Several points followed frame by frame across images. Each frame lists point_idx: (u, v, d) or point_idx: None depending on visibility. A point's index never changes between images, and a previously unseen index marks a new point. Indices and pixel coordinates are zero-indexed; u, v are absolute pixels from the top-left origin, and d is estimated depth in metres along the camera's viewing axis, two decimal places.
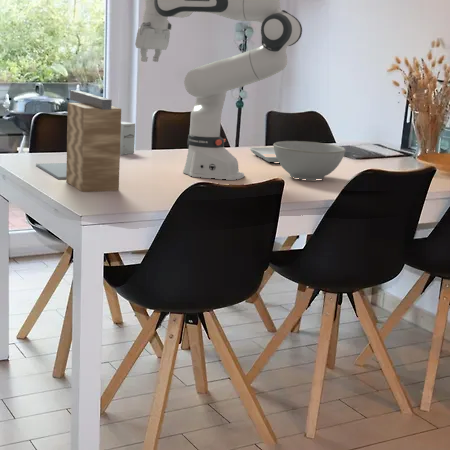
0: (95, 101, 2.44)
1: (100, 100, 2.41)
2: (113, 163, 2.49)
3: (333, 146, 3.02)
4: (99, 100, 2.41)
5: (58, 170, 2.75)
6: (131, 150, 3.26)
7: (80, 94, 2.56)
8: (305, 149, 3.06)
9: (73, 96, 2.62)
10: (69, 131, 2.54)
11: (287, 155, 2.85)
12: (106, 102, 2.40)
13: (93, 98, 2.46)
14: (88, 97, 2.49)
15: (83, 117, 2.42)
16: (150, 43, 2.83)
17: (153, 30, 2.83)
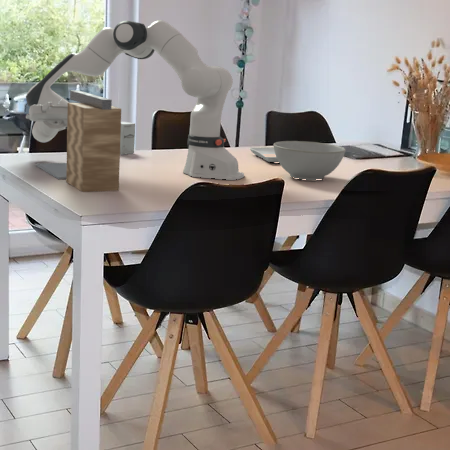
0: (95, 101, 2.44)
1: (100, 100, 2.41)
2: (113, 163, 2.49)
3: (333, 146, 3.02)
4: (99, 100, 2.41)
5: (58, 170, 2.75)
6: (131, 150, 3.26)
7: (80, 94, 2.56)
8: (305, 149, 3.06)
9: (73, 96, 2.62)
10: (69, 131, 2.54)
11: (287, 155, 2.85)
12: (106, 102, 2.40)
13: (93, 98, 2.46)
14: (88, 97, 2.49)
15: (83, 117, 2.42)
16: None
17: None
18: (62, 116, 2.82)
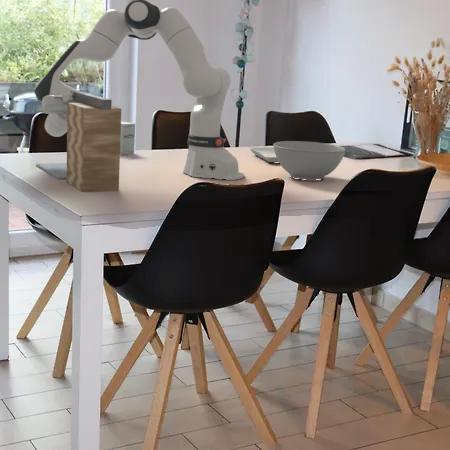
0: (95, 101, 2.44)
1: (100, 100, 2.41)
2: (113, 163, 2.49)
3: (333, 146, 3.02)
4: (99, 100, 2.41)
5: (58, 170, 2.75)
6: (131, 150, 3.26)
7: (80, 94, 2.56)
8: (305, 149, 3.06)
9: None
10: (69, 131, 2.54)
11: (287, 155, 2.85)
12: (106, 102, 2.40)
13: (93, 98, 2.46)
14: (88, 97, 2.49)
15: (83, 117, 2.42)
16: None
17: None
18: None
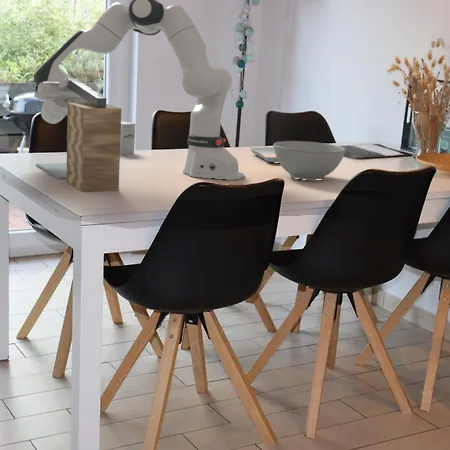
0: (90, 97, 2.48)
1: (95, 98, 2.44)
2: (113, 163, 2.49)
3: (333, 146, 3.02)
4: (94, 97, 2.44)
5: (58, 170, 2.75)
6: (131, 150, 3.26)
7: (76, 85, 2.59)
8: (305, 149, 3.06)
9: (69, 85, 2.64)
10: (69, 131, 2.54)
11: (287, 155, 2.85)
12: (101, 100, 2.43)
13: (88, 94, 2.49)
14: (84, 91, 2.52)
15: (83, 117, 2.42)
16: None
17: None
18: (72, 94, 2.71)
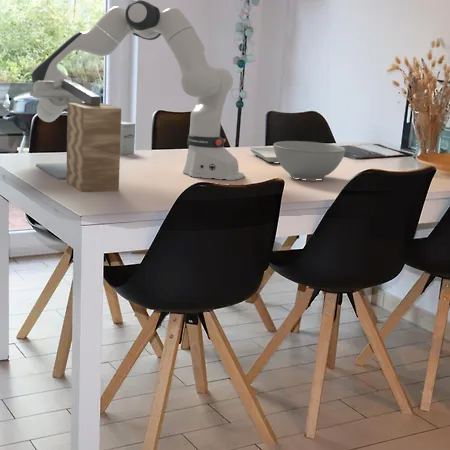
0: (84, 96, 2.52)
1: (89, 96, 2.48)
2: (113, 163, 2.49)
3: (333, 146, 3.02)
4: (88, 96, 2.49)
5: (58, 170, 2.75)
6: (131, 150, 3.26)
7: (71, 85, 2.63)
8: (305, 149, 3.06)
9: (64, 85, 2.69)
10: (69, 131, 2.54)
11: (287, 155, 2.85)
12: (95, 98, 2.48)
13: (83, 93, 2.53)
14: (78, 90, 2.57)
15: (83, 117, 2.42)
16: None
17: None
18: (67, 93, 2.76)
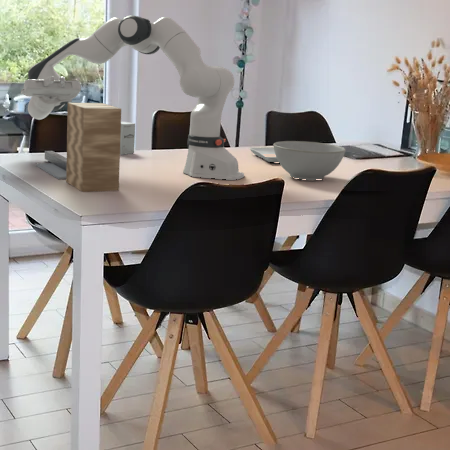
0: (65, 165, 2.75)
1: None
2: (113, 163, 2.49)
3: (333, 146, 3.02)
4: None
5: (58, 170, 2.75)
6: (131, 150, 3.26)
7: (53, 156, 2.87)
8: (305, 149, 3.06)
9: (47, 157, 2.92)
10: (69, 131, 2.54)
11: (287, 155, 2.85)
12: None
13: (63, 162, 2.77)
14: (59, 160, 2.80)
15: (83, 117, 2.42)
16: None
17: None
18: (56, 91, 2.86)
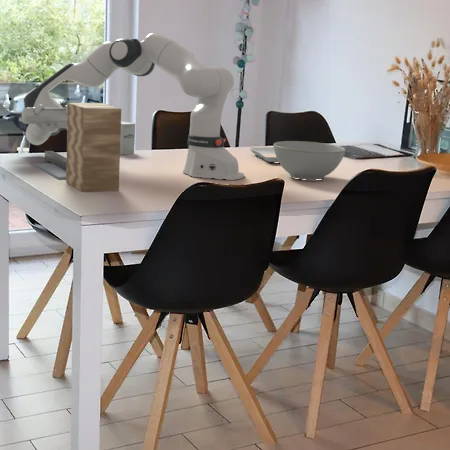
0: (65, 165, 2.75)
1: None
2: (113, 163, 2.49)
3: (333, 146, 3.02)
4: None
5: (58, 170, 2.75)
6: (131, 150, 3.26)
7: (53, 156, 2.87)
8: (305, 149, 3.06)
9: (47, 157, 2.92)
10: (69, 131, 2.54)
11: (287, 155, 2.85)
12: None
13: (63, 162, 2.77)
14: (59, 160, 2.80)
15: (83, 117, 2.42)
16: None
17: None
18: (54, 118, 2.90)
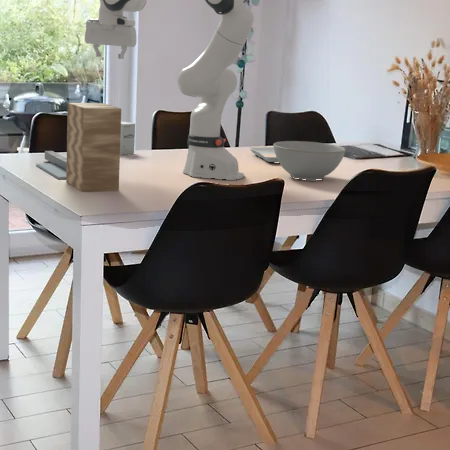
0: (65, 165, 2.75)
1: None
2: (113, 163, 2.49)
3: (333, 146, 3.02)
4: None
5: (58, 170, 2.75)
6: (131, 150, 3.26)
7: (53, 156, 2.87)
8: (305, 149, 3.06)
9: (47, 157, 2.92)
10: (69, 131, 2.54)
11: (287, 155, 2.85)
12: None
13: (63, 162, 2.77)
14: (59, 160, 2.80)
15: (83, 117, 2.42)
16: (96, 38, 2.94)
17: (99, 25, 2.93)
18: None
